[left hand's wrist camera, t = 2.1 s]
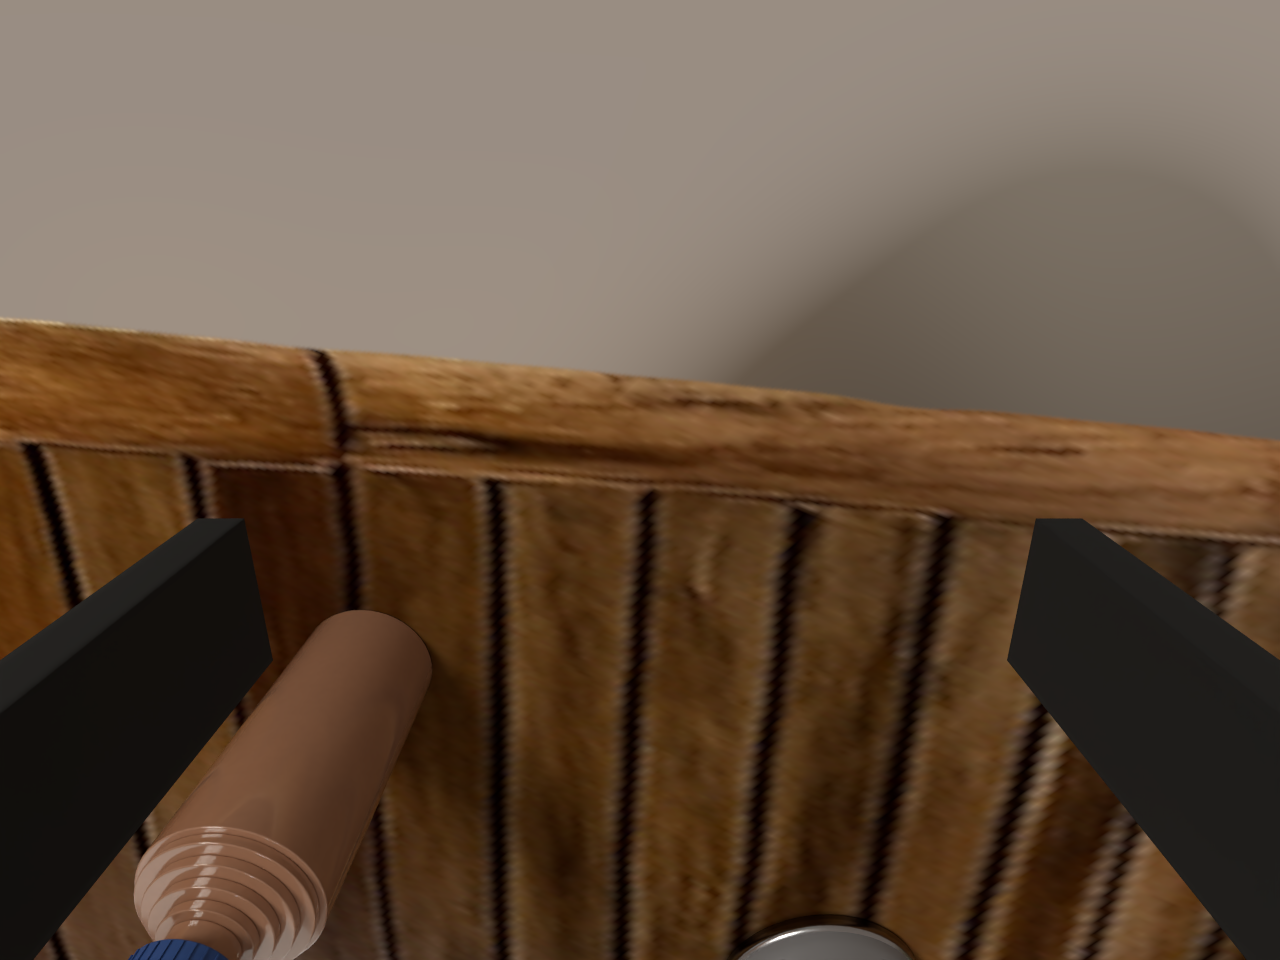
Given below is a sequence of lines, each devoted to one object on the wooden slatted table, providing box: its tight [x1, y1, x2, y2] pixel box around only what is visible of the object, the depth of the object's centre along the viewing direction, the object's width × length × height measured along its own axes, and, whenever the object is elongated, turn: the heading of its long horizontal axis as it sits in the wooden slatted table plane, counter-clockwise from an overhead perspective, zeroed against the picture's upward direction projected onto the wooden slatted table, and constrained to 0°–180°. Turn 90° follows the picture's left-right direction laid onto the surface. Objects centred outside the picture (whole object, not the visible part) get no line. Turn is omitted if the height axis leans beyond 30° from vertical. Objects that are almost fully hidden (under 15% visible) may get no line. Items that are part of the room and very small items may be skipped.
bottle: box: [134, 610, 432, 960], centre depth 36 cm, size 8×8×21 cm
